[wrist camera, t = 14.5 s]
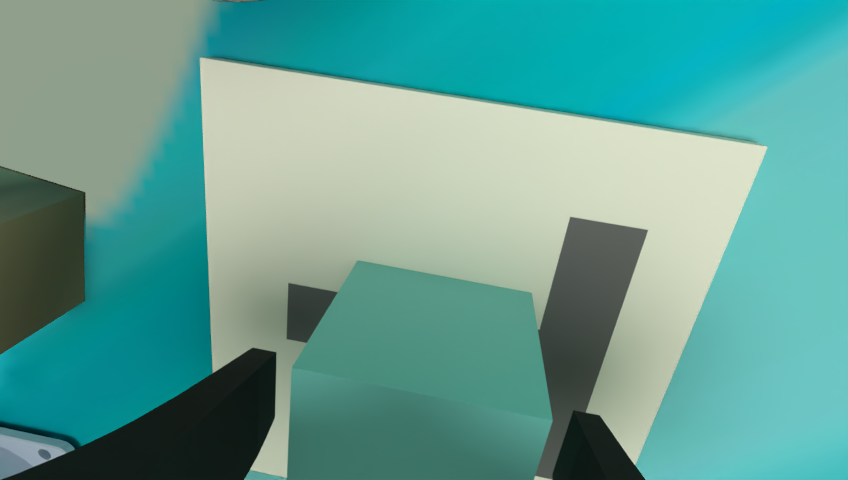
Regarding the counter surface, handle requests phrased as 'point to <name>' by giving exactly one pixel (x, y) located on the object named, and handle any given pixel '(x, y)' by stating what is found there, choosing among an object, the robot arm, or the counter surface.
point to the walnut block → (38, 253)
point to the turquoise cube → (419, 382)
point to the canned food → (237, 0)
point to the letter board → (464, 226)
